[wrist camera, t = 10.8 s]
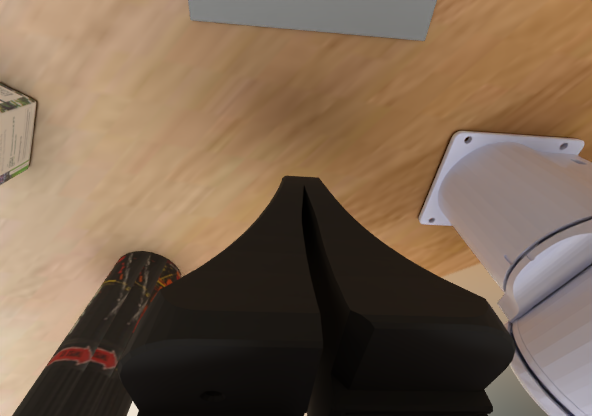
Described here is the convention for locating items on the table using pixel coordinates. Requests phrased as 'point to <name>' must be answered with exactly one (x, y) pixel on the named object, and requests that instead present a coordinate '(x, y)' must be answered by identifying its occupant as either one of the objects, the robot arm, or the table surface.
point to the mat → (324, 15)
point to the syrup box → (15, 132)
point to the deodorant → (100, 344)
